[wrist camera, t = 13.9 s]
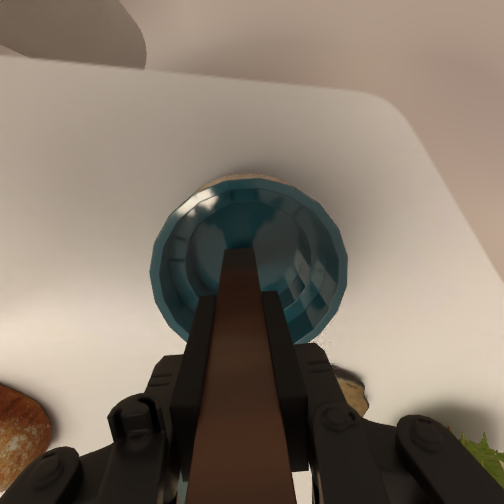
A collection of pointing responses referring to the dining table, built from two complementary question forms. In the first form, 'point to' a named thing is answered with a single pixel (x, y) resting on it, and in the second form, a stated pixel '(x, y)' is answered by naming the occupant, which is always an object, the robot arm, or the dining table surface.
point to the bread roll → (20, 434)
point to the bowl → (265, 247)
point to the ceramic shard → (353, 391)
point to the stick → (240, 401)
